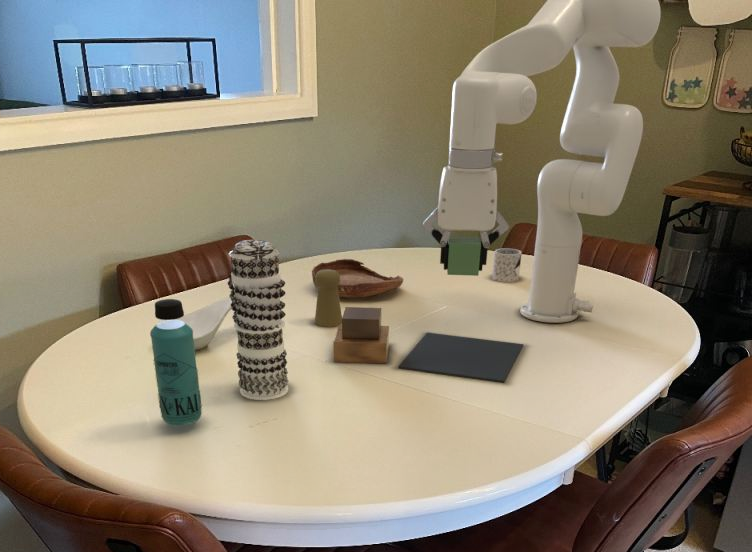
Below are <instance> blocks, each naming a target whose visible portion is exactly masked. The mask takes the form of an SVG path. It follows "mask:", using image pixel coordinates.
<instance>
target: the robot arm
mask: <svg viewBox="0 0 752 552" xmlns="http://www.w3.org/2000/svg"><path fill="white" fill-rule="evenodd" d="M661 15H662V13H661V5H660V1H659V0H546V1H545V3H544V4H543V5H542V7H541V8H540V9H538V11H537V13H535V15H534V16H533V17H532V19H531V20H530V21H529V22H528V24H526V25H524V26H523V27H521V28H518V29H516V30H515V31H512V32H510V33H509V34H507V35H505V36H504V37H502V38H499V39H498V40H496V41H494V42H492V43H491V44H489V45H488V46H485V48H483V49H482V50H481V51H479V52H478V53H477V54H476V55H475V57H473V58H472V60H471V61H470V62H469V63H468V65H467V66H466V67H465V69H464V70H463V71H462V73H461V74H460V76H458V77H457V78H456V79H455V80H454V82H453V86H452V96H451V113H450V129H449V145H448V159H447V160H448V161H447V165H446V166H444V167H443V169H442V173H441V177H440V182H439V183H440V184H439V192H438V201H437V206H436V208H435V209H434V210H433V211H432V212H431V213H430V214H429V215H428V216H427V217H426V219H425V220H423V223H422V227H423V228H424V229H425V230H426V231H427V232H428V233H429V234H430V235H431V236H432V237H433V238H434V240H435V241H436V242H437V243H438V244H439V246H440V257H439V258H440V259H439V264H441V265H443V271H447V269H448V255H449V237H450V236H451V234H452V233H453V231H455V232H457V231H459V232H461V231H462V232H479V235H480V242H481V251H480V262H479V272H483V266H487V260H488V249H489V248H490V246H491V245H492V244H493V243H494V242H495V241H497V239H499V237H501V236H502V235H503V234H504V233H505V232H507V231H508V230H509V229H510V225H509V223H508V222H507V220H506V219H505V217H504V216H503V215H502V213H501V212H500V211H499V209H498V208H497V207H498V172H497V168H496V167H494V164H496V163H498V162H502V161H503V152H498V151H496V150H495V143H496V142H495V141H496V131H497V124H500V125H516V124H520V123H523V122H524V121H526V120H528V118H529V117H530V116H531V114H532V113H533V112H534V110H535V107H536V105H537V99H538V93H537V88H536V86H535V84H534V82H533V81H532V79H531V78H530V77H531V76H534V75H535V76H536V75H539V74H542V73H544V72H546V71H550V70H552V69H554V68H556V67H558V66H559V65H560V64H561V63H562V61H563V60H564V59H565V58H566V56H567V55H568V54H569V53H570V51H571V50H572V49H573V53H574V59H575V68H576V69H575V77H574V81H573V85H572V90H571V93H570V96H569V99H568V102H567V103H568V104H567V107H566V110H565V114H564V117H563V121H562V125H561V128H560V133H559V143H560V146H561V148H562V149H563V150H564V151H565V152H568V153H570V154H574V155H579V156H589V157H597V158H598V157H599V158H604V161H603V163H602V162H601V163H600V162H592V161H587V160H579V159H569V158H560V159H559V158H558V159H554V160H551V161H550V162H548V163H546V164H545V165H544V166H543V167H542V169H541V170H540V173H538V174H539V175H538V179H537V185H536V192H537V193H536V195H537V208H538V209H537V224H536V225H537V226H536V236H535V243H534V251H533V252H534V253H533V261H532V268H531V277H530V284H529V285H530V286H529V294H528V302H526V303H523V304H521V306H520V310H519V312H520V314H521V315H522V316H523V317H524V318H526V319H529V320H530V321H531V320H532V321H536V322H539V323H540V322H541V323H549V324H550V323H551V324H561V323H568V322H573V321H574V320H576V319H577V318H578V317H579V311H580V312H585V313H593V308H594V302H590V301H589V300H584V299H583V300H582V299H579V298H576V297H577V292H575V289H576V282H577V275H578V269H579V268H578V267H579V263H580V255H581V248H582V244H583V243H582V242H583V226H582V223H581V221H580V218H579V217H580V216H579V215H578V214H584V215H591V216H597V217H607V216H610V215H612V214H614V213H615V212H616V211H617V210H618V209H619V207H620V205H621V203H622V201H623V198H624V196H625V193H626V190H627V186H628V184H629V181H630V177H631V175H632V170H633V168H634V165H635V163H636V158H637V155H638V153H639V149H640V145H641V142H642V138H643V132H644V119H643V115H642V112H641V111H640V110H639V109H638V107H636V106H634V105H631V104H625V103H614V102H615V99H616V95H617V92H618V88H619V85H620V71H619V67H618V65H617V62H616V60H615V57H614V55H613V53H612V51H611V49H610V48H616V47H617V48H641V47H643V46H646V45H647V44H649V43H650V42H651V41H652V39H653V38H654V37H655V36H656V34H657V32H658V30H659V26H660V22H661ZM436 221H437V226H438V227H439V228H440V229H441V230H442V232H441V231H440V230H439V229H438V228H437V227H436V226H435V225H434V223H435V222H436ZM496 223H497V224H498V226H497V227H496V228H495V226H496ZM491 230H492V231H491ZM488 231H491V232H490V233H489V234H488Z"/></svg>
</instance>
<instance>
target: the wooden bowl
mask: <svg viewBox="0 0 752 552" xmlns="http://www.w3.org/2000/svg"><path fill="white" fill-rule="evenodd" d="M364 265H365V263H364V262H363V261H362V262H361V261H359V260H356V259H352V258H343V259H336V260H332V261H328V262H320V263H318V264H317V265H315V266H314V267H313V268H312V270H311V277H312V283H313V285H314V287H315V289H316V290H317V291H318V286H317V284H316V281H315V277H316V274H317V272H319V271H320V270H325V269H330V270H335V271H337V272H338V273H339V275H340V283H339V285H338V293H339V298H363V297H371V296H375V295H379V294H381V293H385V292H388V291H391V290H393V289H394V290H396V289H399V288H400V287H401V286H402V285H403V283H404V278H403V276H400V275H397V276H395V277H393V276H389V277H388V276H385V275H381V274H380V273H378V272H376V271H375V270H372V269H370V268H369V267H367V266H364Z"/></svg>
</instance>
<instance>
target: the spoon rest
mask: <svg viewBox="0 0 752 552" xmlns="http://www.w3.org/2000/svg"><path fill="white" fill-rule="evenodd" d="M231 303H232V301H231V298H230V297H225V298H222V299H219V300H217V301H215V302H213V303H211V304H209V305H206V306H204V307H202V308H200V309H197V310H195V311H192V312H189V313H188V314H184V316H183V317H181V318H178V319H174V320H178V321H182V322H184V323H186V324H187V325H188V326H190V327H191V328H192V330H193V340H194V349H195V351H197V350H201V349H203V348H205V347H206V346H207V345H208V344H209V343H210V342H211V341H212V340H213V338H215V336H216V334H217V332H218V331H219V328H220V327H221V326H222V323H223V321H224V320H225V318H226V317H227V315H228V314H229V313H230V311H232V307H231ZM235 305H236V304H235Z"/></svg>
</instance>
